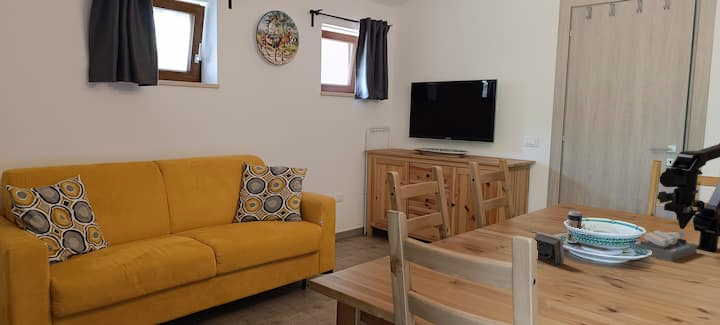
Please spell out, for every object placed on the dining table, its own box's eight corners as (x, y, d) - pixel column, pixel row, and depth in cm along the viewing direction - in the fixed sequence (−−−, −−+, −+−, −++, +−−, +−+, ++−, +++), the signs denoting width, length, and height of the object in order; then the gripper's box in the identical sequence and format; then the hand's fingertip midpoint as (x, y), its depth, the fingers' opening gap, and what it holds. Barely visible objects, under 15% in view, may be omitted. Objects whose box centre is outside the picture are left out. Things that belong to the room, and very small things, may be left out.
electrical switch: (564, 264, 157) (565, 236, 155) (556, 268, 154) (556, 240, 152) (538, 256, 164) (539, 230, 162) (530, 260, 161) (530, 233, 159)
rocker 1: (648, 236, 175) (650, 231, 174) (668, 246, 169) (670, 241, 169) (643, 237, 172) (645, 233, 172) (663, 247, 167) (665, 242, 166)
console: (660, 244, 184) (661, 233, 184) (696, 253, 175) (697, 241, 174) (634, 252, 173) (635, 240, 173) (671, 261, 163) (672, 249, 163)
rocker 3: (664, 237, 181) (663, 232, 182) (684, 237, 176) (683, 231, 176) (659, 238, 179) (658, 233, 179) (679, 238, 173) (679, 233, 174)
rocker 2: (656, 234, 178) (658, 229, 177) (675, 243, 173) (678, 239, 172) (651, 235, 176) (653, 231, 175) (670, 245, 171) (673, 240, 170)
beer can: (580, 245, 179) (583, 213, 178) (567, 244, 180) (570, 212, 179) (577, 241, 184) (580, 211, 183) (564, 240, 185) (567, 210, 184)
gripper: (674, 181, 185) (669, 221, 187) (650, 184, 174) (646, 226, 176) (707, 186, 176) (702, 227, 177) (685, 189, 165) (679, 234, 167)
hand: (681, 228), depth 175 cm, fingers closed
